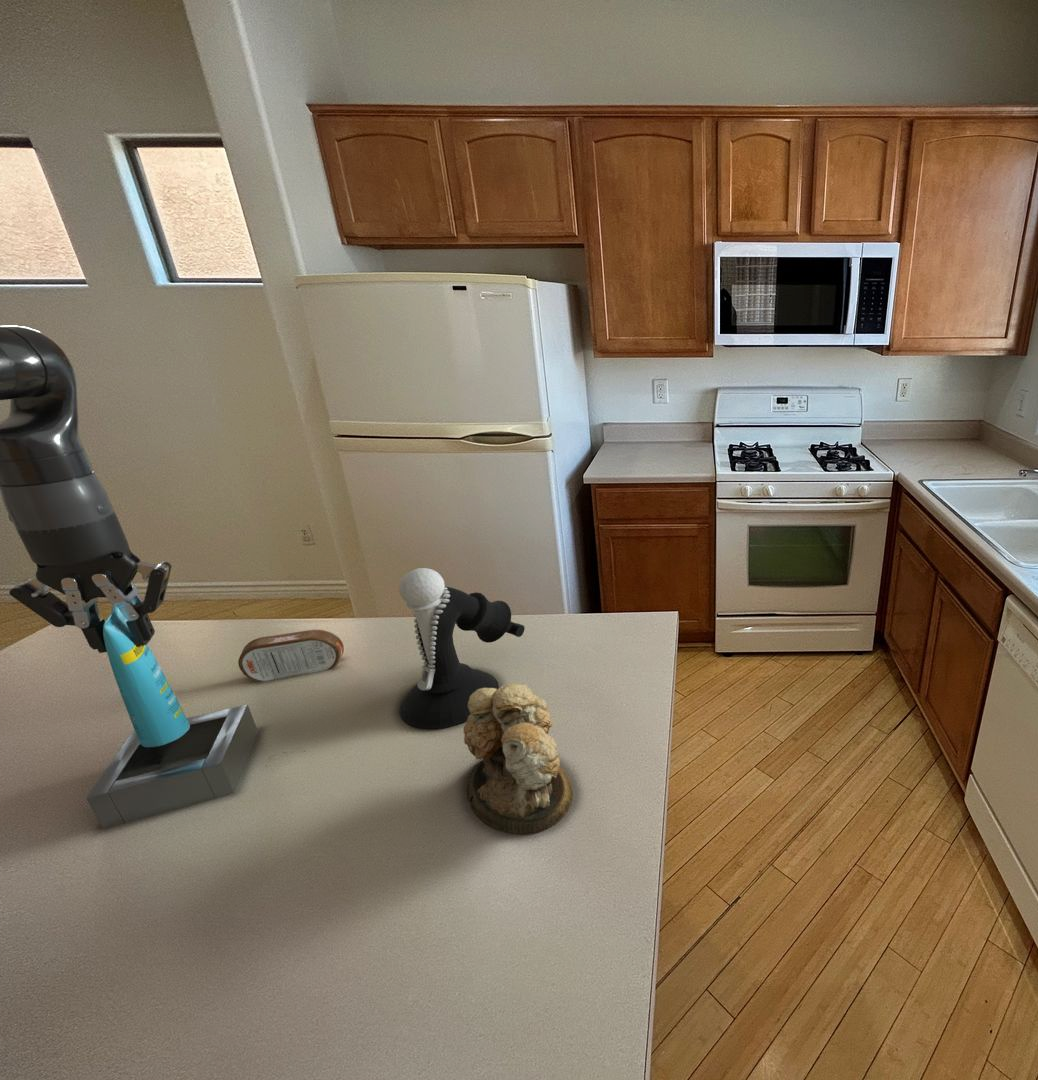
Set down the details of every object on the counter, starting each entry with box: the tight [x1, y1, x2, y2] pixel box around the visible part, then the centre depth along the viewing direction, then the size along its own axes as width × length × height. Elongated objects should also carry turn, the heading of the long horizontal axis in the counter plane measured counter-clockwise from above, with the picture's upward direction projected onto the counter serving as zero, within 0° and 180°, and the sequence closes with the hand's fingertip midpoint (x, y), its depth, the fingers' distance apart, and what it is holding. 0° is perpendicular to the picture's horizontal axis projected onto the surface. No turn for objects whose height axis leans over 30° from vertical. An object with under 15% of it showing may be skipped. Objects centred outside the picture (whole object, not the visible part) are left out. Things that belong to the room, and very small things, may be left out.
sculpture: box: [398, 567, 526, 731], centre depth 92 cm, size 15×24×25 cm, turn 151°
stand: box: [85, 704, 259, 830], centre depth 76 cm, size 13×13×6 cm
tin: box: [237, 629, 345, 683], centre depth 97 cm, size 15×3×8 cm, turn 111°
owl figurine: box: [463, 683, 574, 835], centre depth 73 cm, size 18×12×17 cm, turn 55°
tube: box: [103, 605, 190, 747], centre depth 70 cm, size 7×5×19 cm, turn 42°
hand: (126, 645), depth 69 cm, fingers closed on tube, 3 cm apart
